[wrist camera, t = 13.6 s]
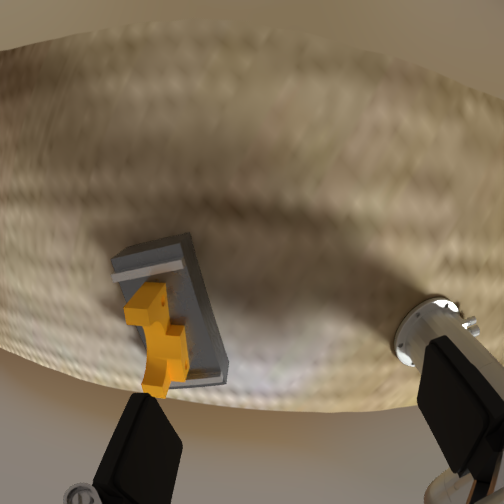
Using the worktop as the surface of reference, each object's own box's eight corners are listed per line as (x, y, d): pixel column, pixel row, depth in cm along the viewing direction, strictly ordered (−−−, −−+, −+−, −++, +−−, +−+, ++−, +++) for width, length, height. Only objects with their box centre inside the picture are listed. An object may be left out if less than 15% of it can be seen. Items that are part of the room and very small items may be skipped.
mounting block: (189, 232, 36) (177, 246, 30) (229, 362, 42) (225, 390, 36) (127, 247, 37) (106, 262, 31) (173, 368, 43) (163, 394, 37)
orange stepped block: (189, 366, 36) (179, 400, 30) (158, 363, 36) (144, 395, 30) (180, 283, 33) (164, 310, 27) (144, 281, 33) (123, 307, 27)
